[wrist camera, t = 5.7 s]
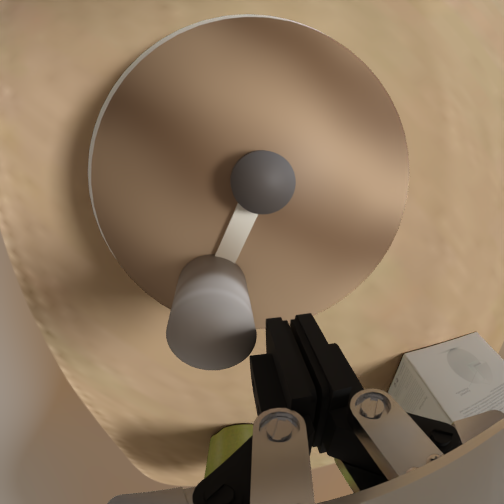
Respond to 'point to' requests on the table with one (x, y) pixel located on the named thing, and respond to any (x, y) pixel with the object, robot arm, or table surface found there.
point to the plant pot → (226, 444)
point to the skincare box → (450, 380)
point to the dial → (248, 180)
